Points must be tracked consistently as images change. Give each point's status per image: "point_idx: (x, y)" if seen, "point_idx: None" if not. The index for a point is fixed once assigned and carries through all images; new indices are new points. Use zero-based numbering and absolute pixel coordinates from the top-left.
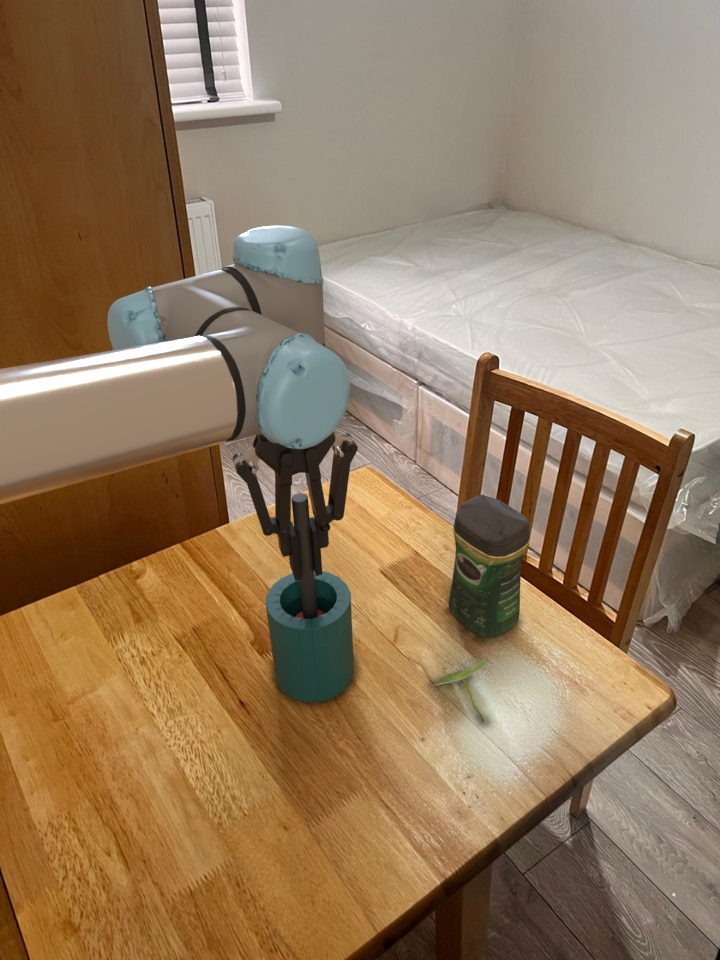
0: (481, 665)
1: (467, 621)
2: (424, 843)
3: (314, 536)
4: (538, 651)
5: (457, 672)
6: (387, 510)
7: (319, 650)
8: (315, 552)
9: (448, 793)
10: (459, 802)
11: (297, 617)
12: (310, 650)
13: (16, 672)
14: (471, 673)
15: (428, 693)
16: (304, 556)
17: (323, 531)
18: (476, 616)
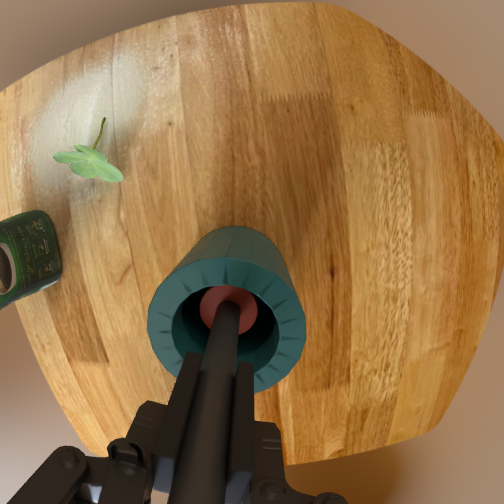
0: (64, 160)
1: (50, 239)
2: (236, 31)
3: (173, 443)
4: (23, 178)
5: (88, 149)
6: (82, 417)
7: (244, 246)
8: (186, 400)
9: (185, 60)
10: (181, 49)
11: (244, 327)
12: (258, 251)
13: (456, 385)
14: (78, 160)
15: (131, 176)
16: (217, 404)
17: (137, 445)
18: (37, 231)
